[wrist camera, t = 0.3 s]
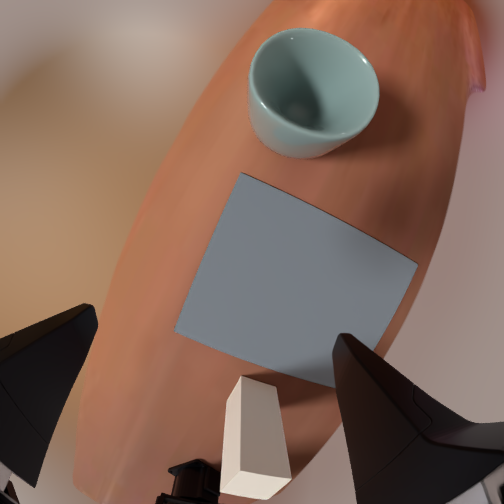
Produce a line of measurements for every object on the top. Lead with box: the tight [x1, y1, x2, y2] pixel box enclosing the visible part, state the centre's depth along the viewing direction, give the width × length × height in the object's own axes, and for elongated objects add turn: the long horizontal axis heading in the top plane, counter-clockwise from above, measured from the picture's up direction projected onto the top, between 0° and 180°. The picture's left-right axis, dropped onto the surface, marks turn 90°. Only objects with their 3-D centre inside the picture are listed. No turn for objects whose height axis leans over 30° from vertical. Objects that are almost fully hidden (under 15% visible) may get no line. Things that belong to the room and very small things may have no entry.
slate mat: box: [174, 173, 418, 388], centre depth 25 cm, size 16×20×1 cm
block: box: [220, 376, 292, 500], centre depth 20 cm, size 4×4×12 cm
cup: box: [247, 28, 379, 159], centre depth 17 cm, size 8×8×10 cm
